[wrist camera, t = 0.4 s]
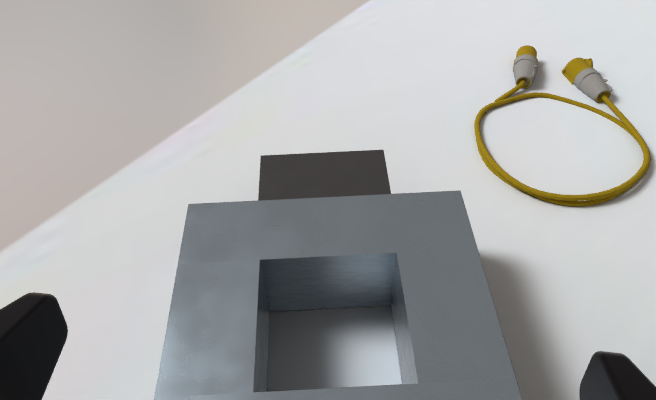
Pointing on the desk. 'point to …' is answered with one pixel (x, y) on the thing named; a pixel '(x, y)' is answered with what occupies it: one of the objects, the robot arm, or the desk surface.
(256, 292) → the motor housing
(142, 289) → the desk surface
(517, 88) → the extension cord
